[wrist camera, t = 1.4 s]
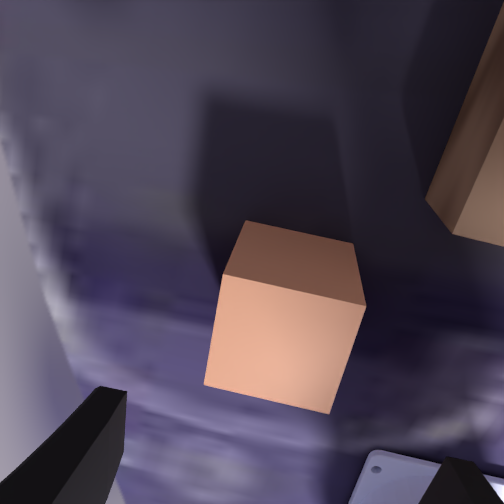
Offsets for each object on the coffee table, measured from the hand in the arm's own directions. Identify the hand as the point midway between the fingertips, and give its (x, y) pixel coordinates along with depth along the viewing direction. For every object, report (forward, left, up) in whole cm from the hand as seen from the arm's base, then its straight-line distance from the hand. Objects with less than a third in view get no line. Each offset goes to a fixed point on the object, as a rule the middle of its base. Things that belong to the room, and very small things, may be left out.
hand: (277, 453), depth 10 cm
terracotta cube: (-1, 0, -10) cm, 10 cm away
